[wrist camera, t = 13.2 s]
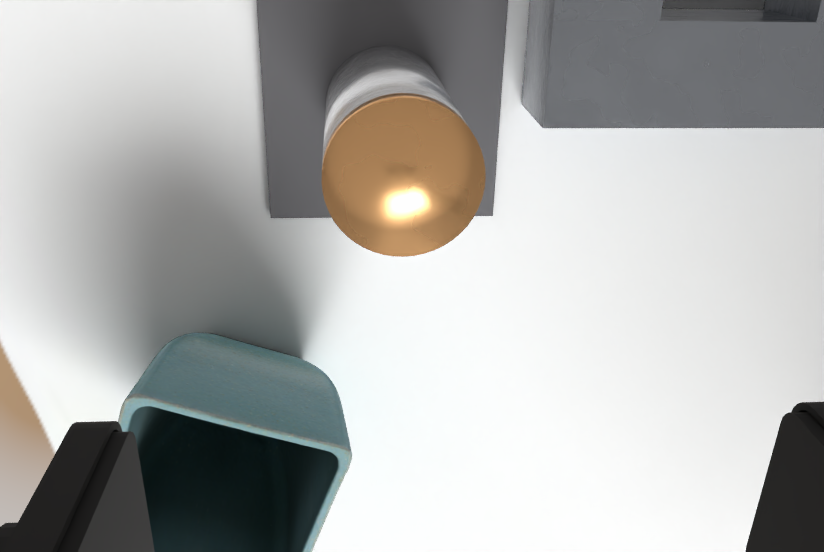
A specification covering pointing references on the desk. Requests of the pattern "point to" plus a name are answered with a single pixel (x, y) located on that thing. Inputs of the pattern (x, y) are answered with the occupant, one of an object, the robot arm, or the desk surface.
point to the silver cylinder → (397, 155)
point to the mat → (349, 34)
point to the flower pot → (236, 446)
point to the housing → (674, 65)
